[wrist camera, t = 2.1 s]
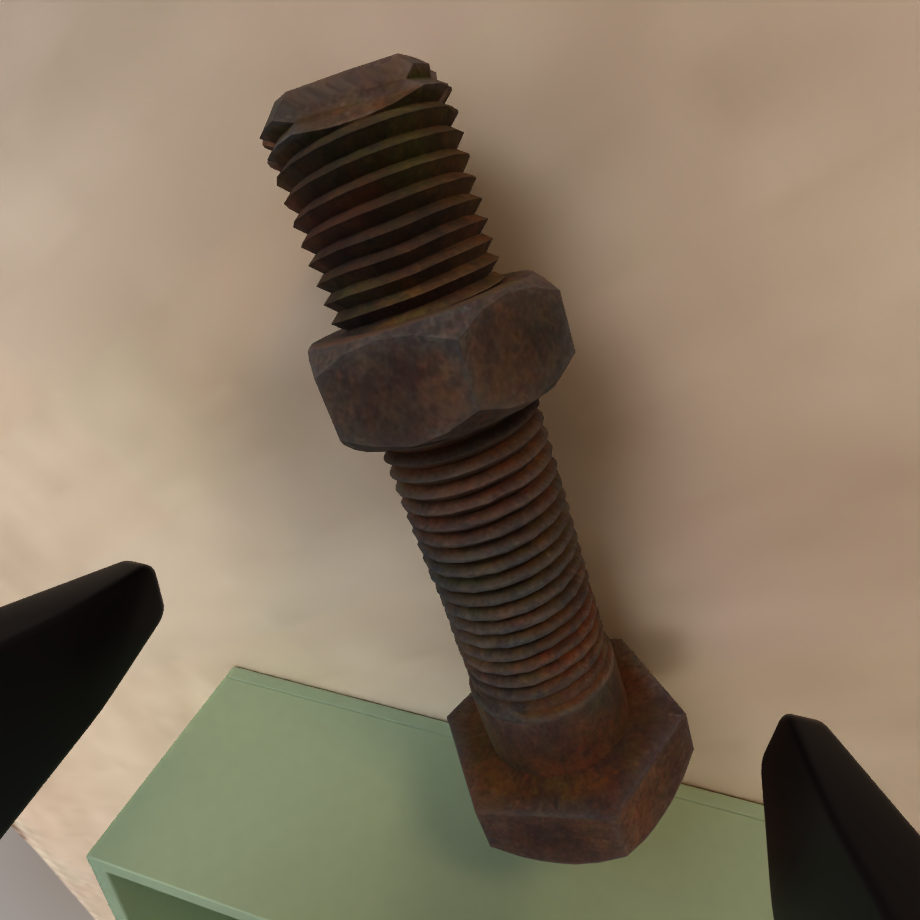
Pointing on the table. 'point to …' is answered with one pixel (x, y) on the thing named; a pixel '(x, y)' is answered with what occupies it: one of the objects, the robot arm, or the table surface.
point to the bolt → (473, 461)
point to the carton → (384, 829)
